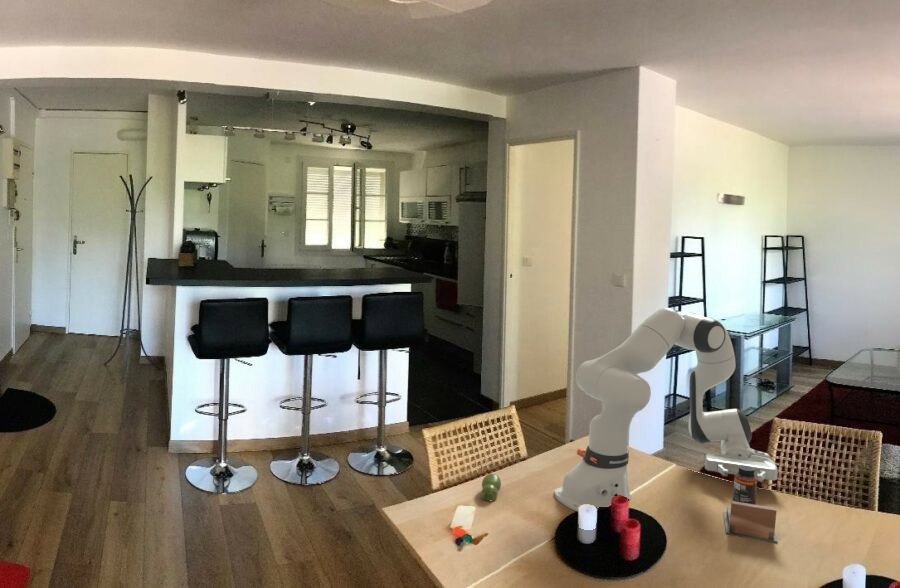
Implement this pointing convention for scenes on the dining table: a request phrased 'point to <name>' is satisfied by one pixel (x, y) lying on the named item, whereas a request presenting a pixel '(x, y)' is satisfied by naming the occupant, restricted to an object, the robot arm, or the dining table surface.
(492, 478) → the green rounded lumpy piece
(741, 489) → the supplement bottle
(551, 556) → the dining table surface
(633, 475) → the dining table surface
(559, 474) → the dining table surface
